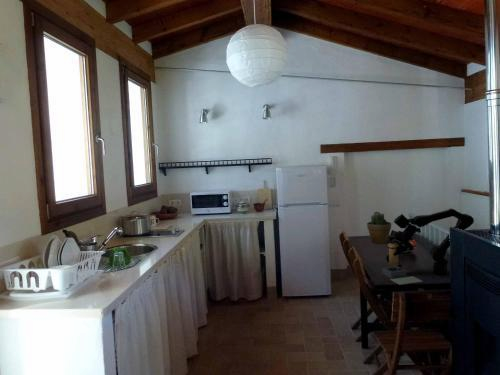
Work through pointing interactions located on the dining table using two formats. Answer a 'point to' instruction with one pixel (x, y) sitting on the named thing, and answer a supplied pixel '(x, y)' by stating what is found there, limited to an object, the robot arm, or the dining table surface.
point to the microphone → (388, 261)
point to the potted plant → (379, 228)
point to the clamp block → (394, 272)
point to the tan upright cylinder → (393, 259)
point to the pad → (406, 280)
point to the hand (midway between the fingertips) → (391, 254)
